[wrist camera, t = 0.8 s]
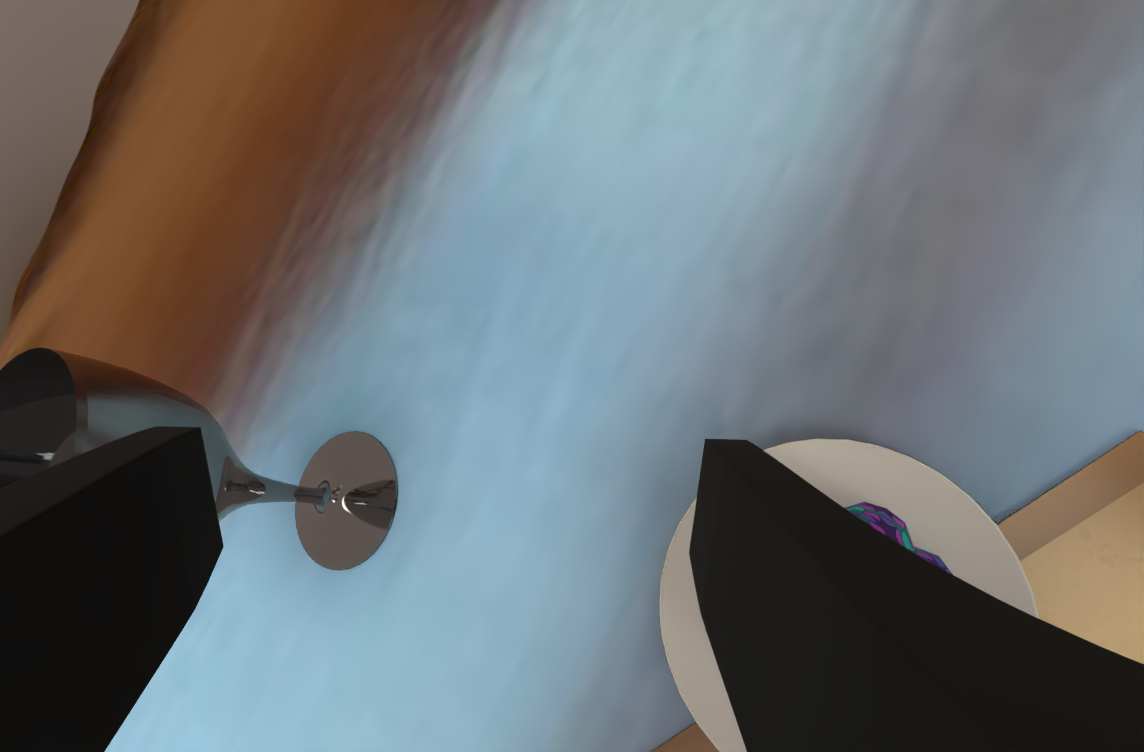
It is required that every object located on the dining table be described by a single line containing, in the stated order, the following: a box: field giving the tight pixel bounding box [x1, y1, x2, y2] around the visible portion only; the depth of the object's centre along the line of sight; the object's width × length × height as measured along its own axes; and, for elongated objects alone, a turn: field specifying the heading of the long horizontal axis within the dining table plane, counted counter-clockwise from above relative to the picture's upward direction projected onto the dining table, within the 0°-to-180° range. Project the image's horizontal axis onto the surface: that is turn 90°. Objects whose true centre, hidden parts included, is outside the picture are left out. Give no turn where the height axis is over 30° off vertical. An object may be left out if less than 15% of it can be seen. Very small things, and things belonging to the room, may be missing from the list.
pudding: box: [659, 439, 1040, 752], centre depth 21 cm, size 12×12×5 cm
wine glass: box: [0, 348, 397, 570], centre depth 29 cm, size 8×8×15 cm
